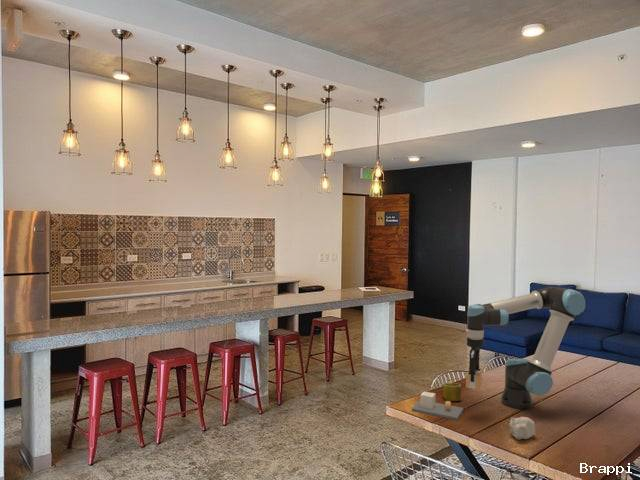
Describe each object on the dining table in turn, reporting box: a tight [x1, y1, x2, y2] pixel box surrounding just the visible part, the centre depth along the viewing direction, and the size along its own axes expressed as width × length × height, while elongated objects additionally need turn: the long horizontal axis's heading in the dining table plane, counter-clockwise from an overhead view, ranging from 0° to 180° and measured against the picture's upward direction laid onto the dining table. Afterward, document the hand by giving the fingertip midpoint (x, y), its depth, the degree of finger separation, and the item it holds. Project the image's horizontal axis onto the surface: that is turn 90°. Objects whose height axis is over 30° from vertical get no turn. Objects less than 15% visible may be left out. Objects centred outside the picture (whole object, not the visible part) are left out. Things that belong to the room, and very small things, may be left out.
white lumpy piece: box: [509, 415, 536, 440], centre depth 209 cm, size 9×11×15 cm
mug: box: [442, 381, 462, 402], centre depth 253 cm, size 12×10×10 cm
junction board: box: [411, 391, 464, 421], centre depth 236 cm, size 22×14×7 cm, turn 62°
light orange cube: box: [465, 371, 482, 391], centre depth 228 cm, size 6×6×6 cm
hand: (473, 386), depth 228 cm, fingers closed on light orange cube, 6 cm apart
